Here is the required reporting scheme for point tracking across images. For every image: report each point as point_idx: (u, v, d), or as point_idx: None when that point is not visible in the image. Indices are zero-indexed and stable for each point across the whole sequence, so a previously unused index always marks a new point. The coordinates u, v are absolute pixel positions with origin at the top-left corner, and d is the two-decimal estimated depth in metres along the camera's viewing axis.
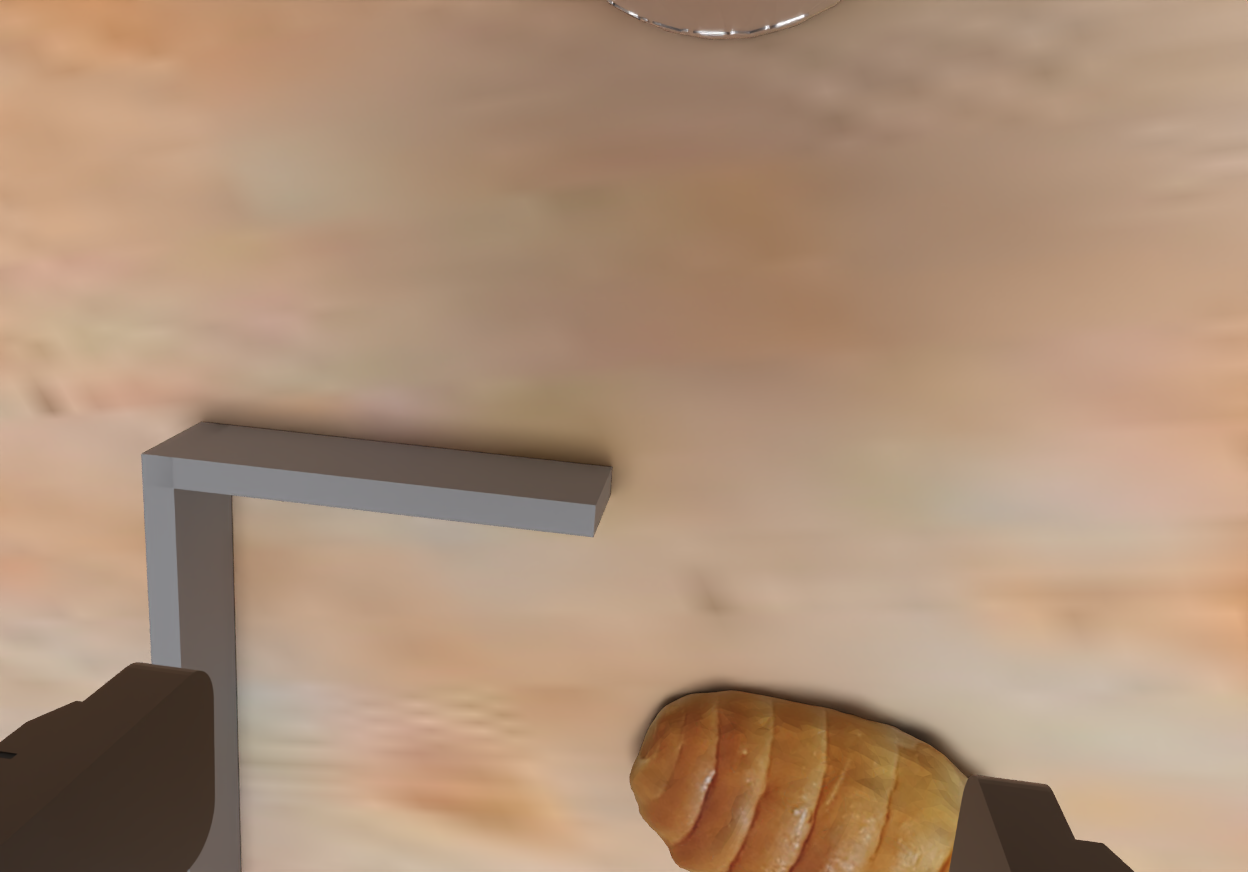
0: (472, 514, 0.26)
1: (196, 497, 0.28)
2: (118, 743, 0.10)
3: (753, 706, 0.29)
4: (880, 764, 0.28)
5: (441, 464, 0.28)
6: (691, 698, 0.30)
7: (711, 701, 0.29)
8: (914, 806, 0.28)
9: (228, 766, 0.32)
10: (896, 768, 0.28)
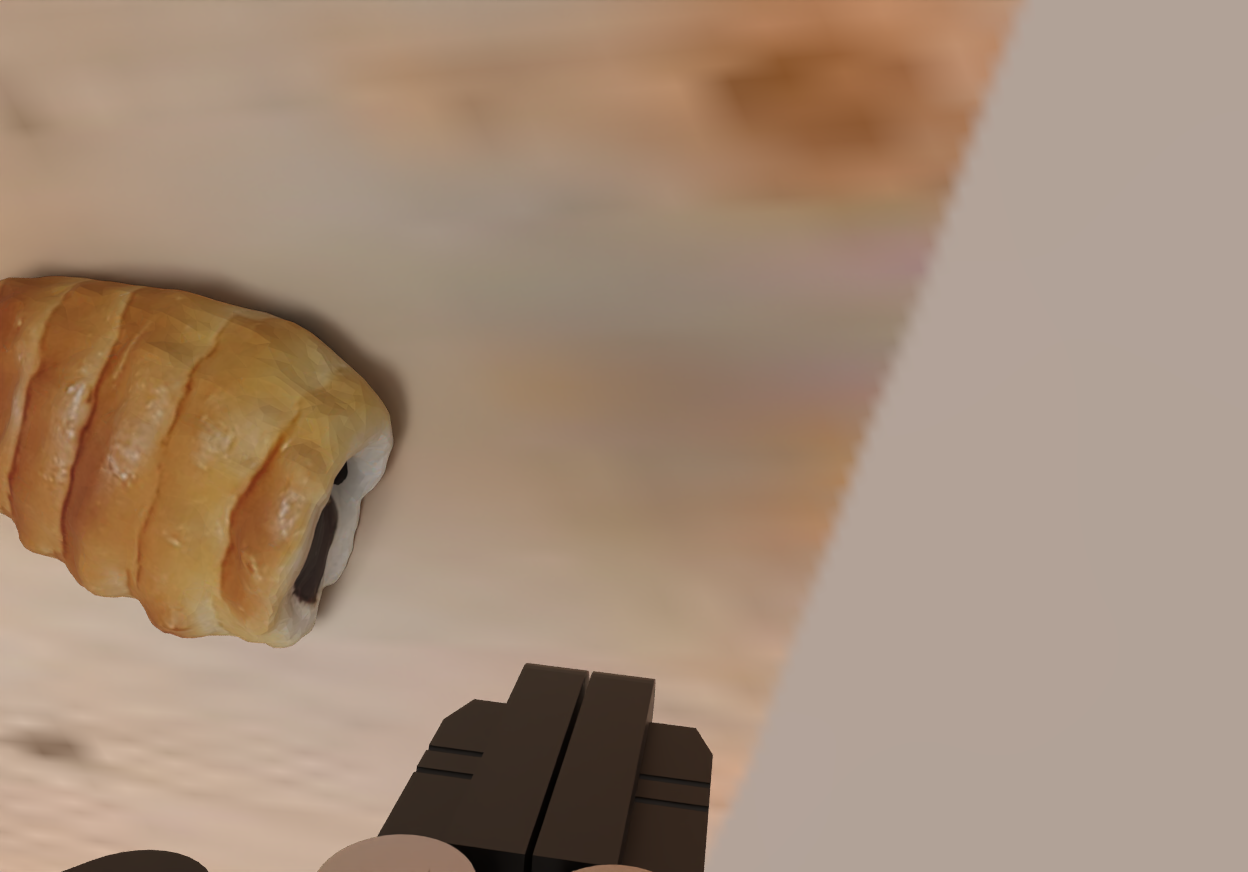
0: None
1: None
2: (563, 739, 0.11)
3: (62, 281, 0.22)
4: (196, 328, 0.21)
5: None
6: None
7: None
8: (230, 374, 0.20)
9: None
10: (218, 333, 0.21)
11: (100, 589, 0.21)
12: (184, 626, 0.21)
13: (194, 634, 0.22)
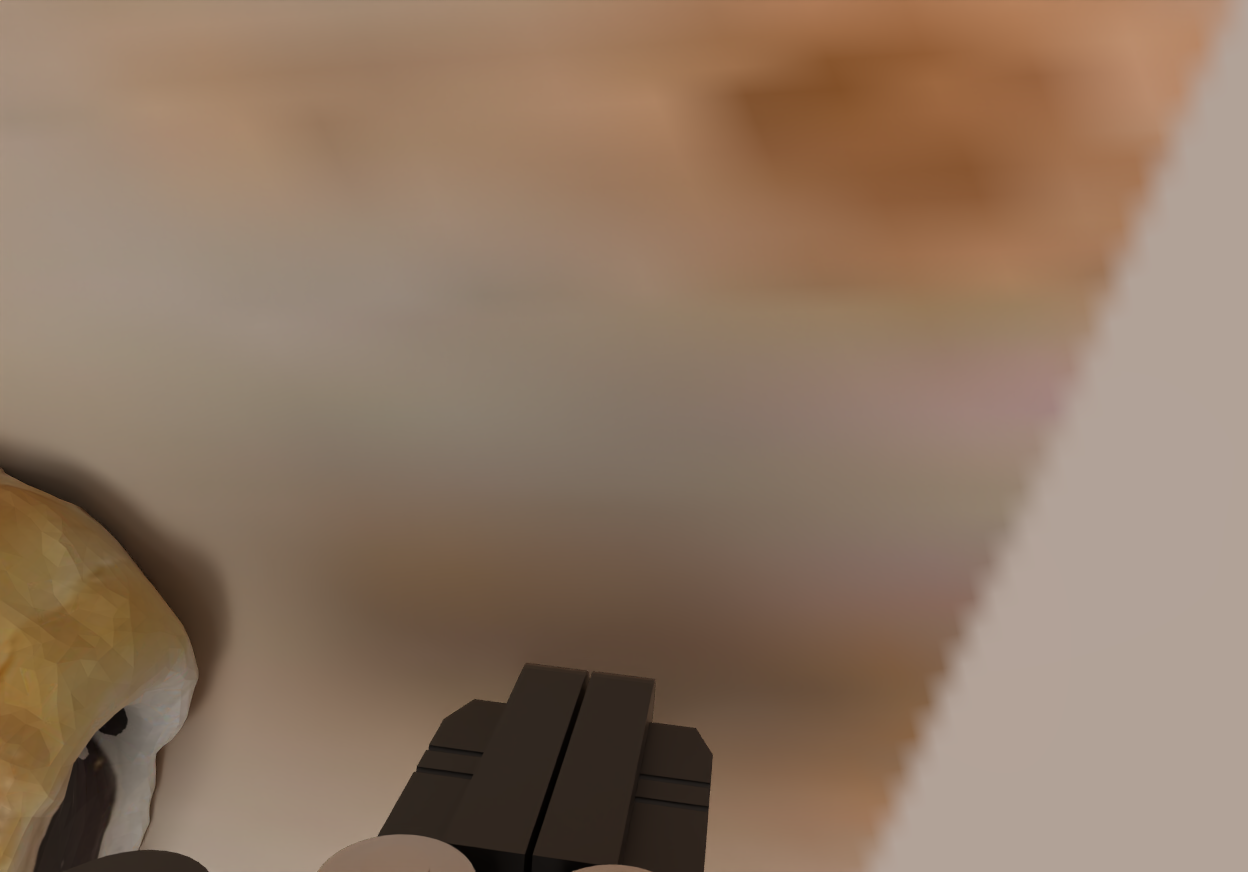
0: None
1: None
2: (563, 739, 0.11)
3: None
4: None
5: None
6: None
7: None
8: None
9: None
10: None
11: None
12: None
13: None
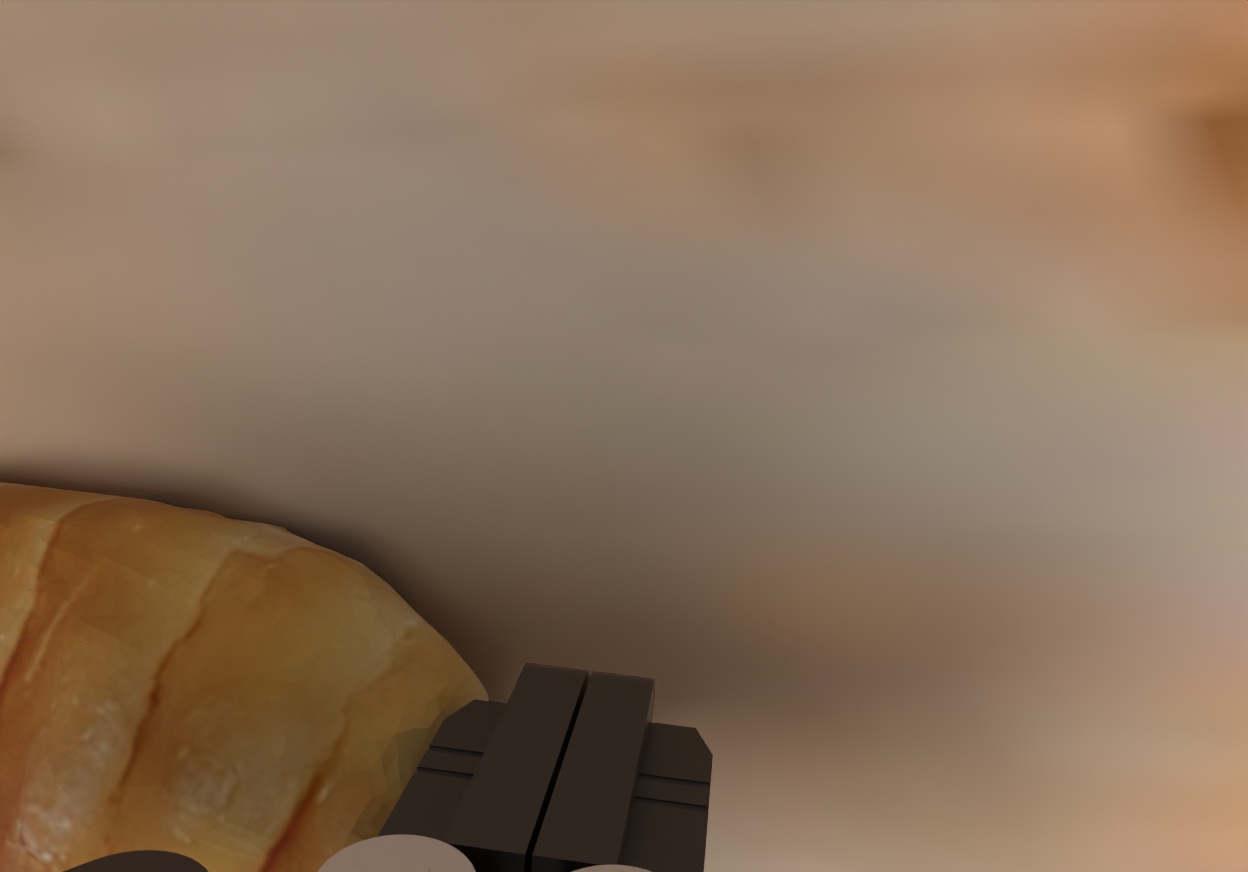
0: None
1: None
2: (563, 739, 0.11)
3: None
4: (166, 584, 0.12)
5: None
6: None
7: None
8: (225, 671, 0.12)
9: None
10: (203, 590, 0.12)
11: None
12: None
13: None
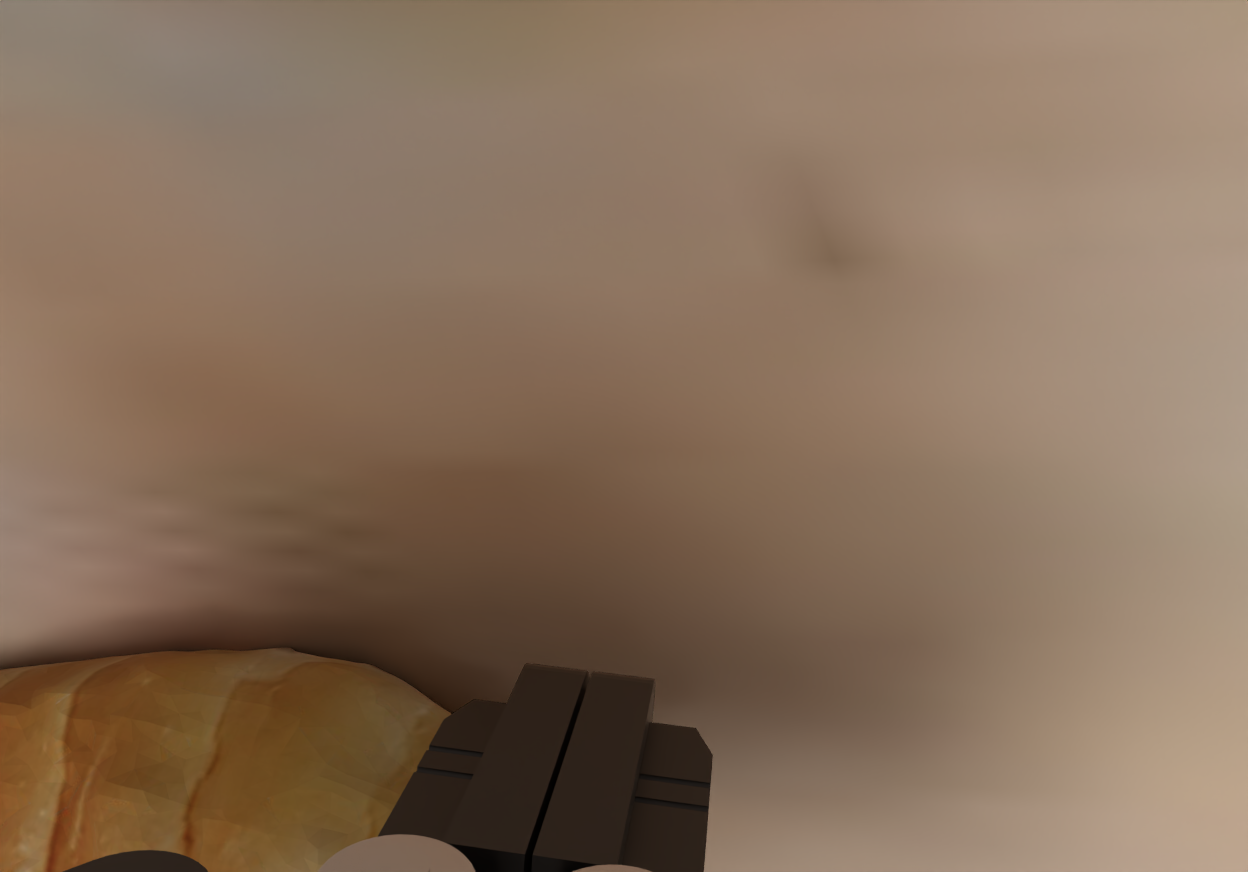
0: None
1: None
2: (563, 739, 0.11)
3: None
4: (181, 728, 0.13)
5: None
6: None
7: None
8: (248, 798, 0.12)
9: None
10: (216, 726, 0.13)
11: None
12: None
13: None
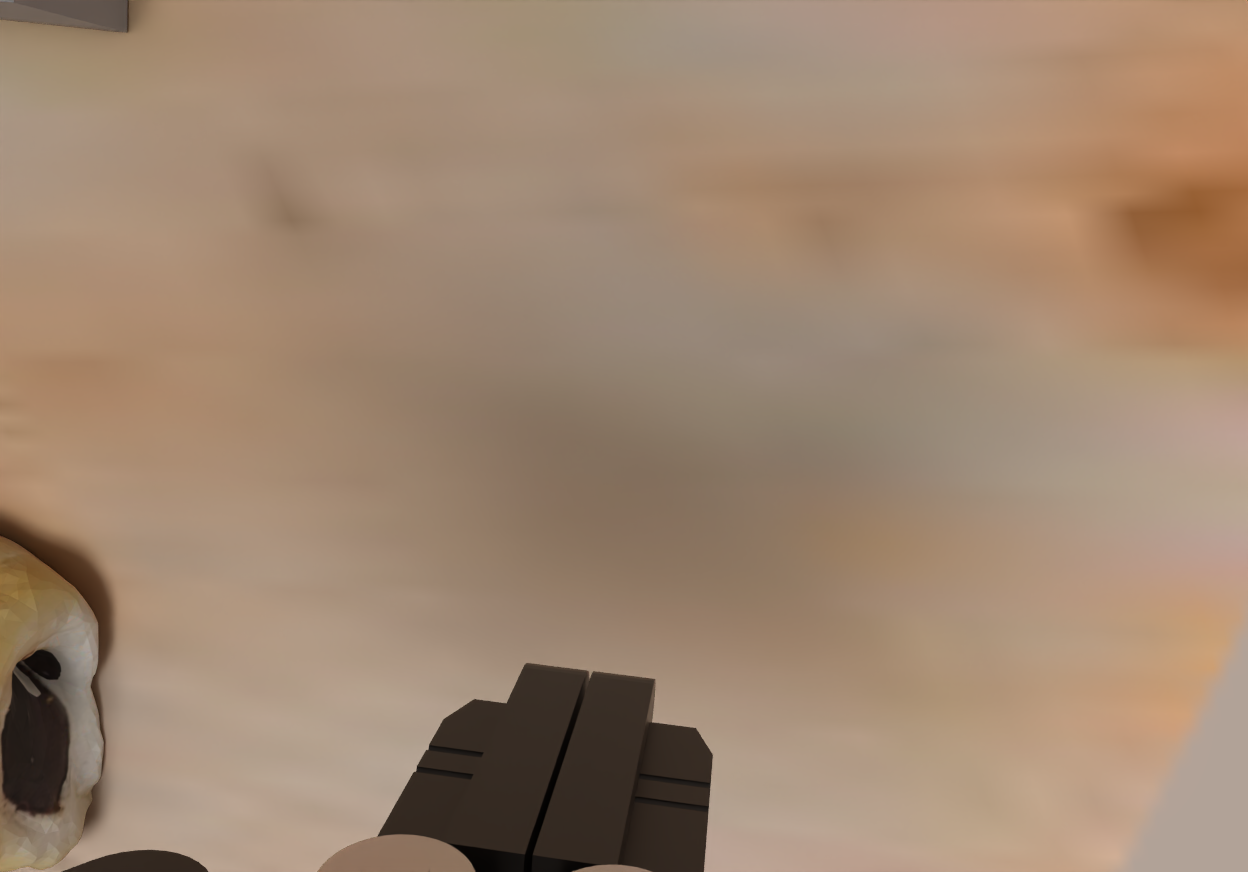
0: None
1: None
2: (563, 738, 0.11)
3: None
4: None
5: None
6: None
7: None
8: None
9: None
10: None
11: None
12: None
13: None
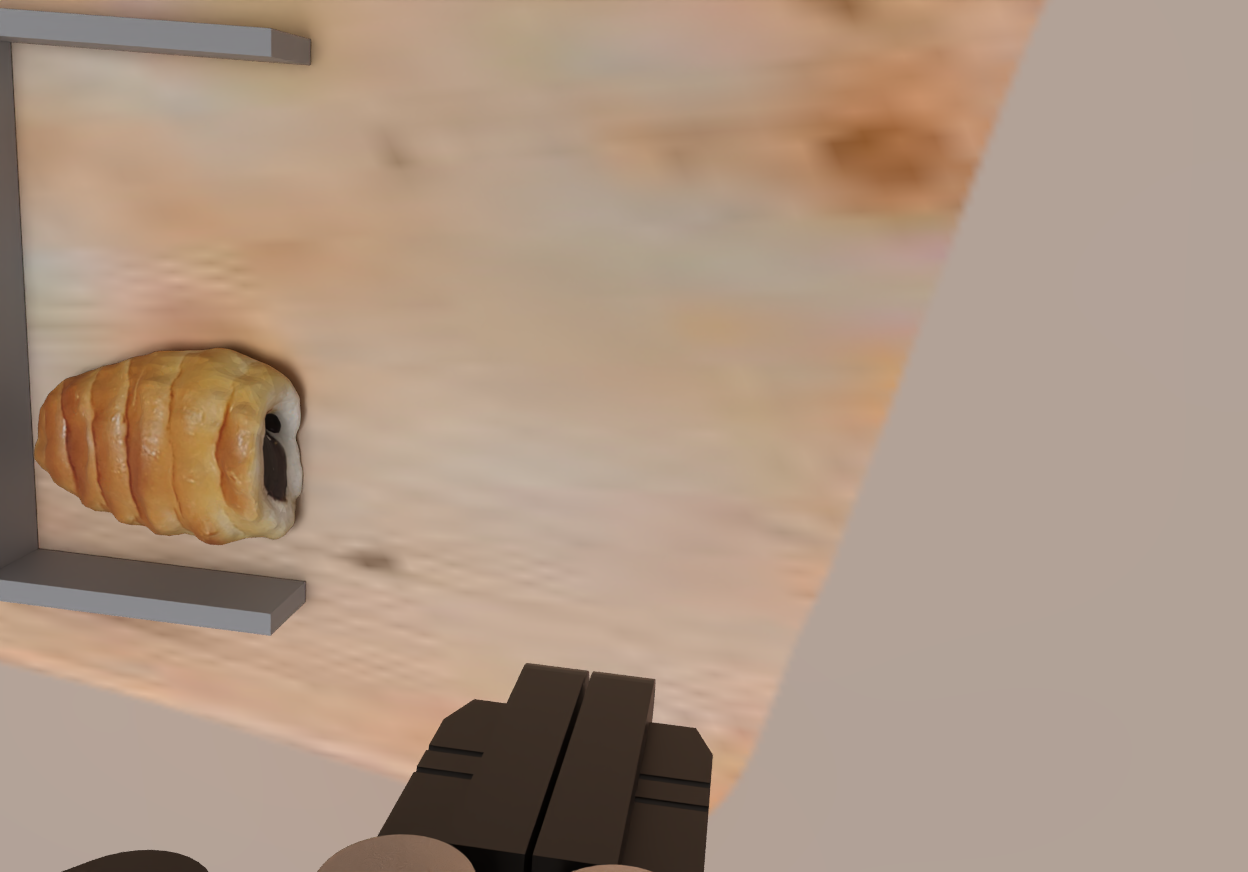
0: (177, 41, 0.33)
1: None
2: (563, 738, 0.11)
3: (94, 370, 0.38)
4: (168, 366, 0.37)
5: None
6: None
7: None
8: (191, 381, 0.36)
9: (14, 321, 0.39)
10: (180, 364, 0.37)
11: (164, 526, 0.37)
12: (214, 530, 0.37)
13: (223, 536, 0.38)
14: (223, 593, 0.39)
